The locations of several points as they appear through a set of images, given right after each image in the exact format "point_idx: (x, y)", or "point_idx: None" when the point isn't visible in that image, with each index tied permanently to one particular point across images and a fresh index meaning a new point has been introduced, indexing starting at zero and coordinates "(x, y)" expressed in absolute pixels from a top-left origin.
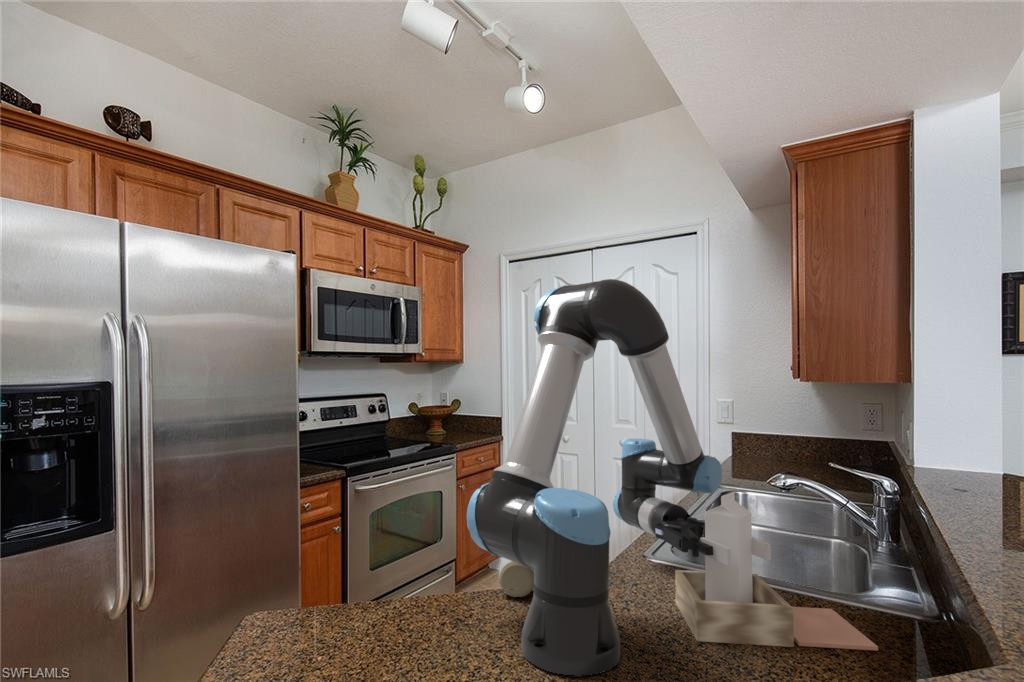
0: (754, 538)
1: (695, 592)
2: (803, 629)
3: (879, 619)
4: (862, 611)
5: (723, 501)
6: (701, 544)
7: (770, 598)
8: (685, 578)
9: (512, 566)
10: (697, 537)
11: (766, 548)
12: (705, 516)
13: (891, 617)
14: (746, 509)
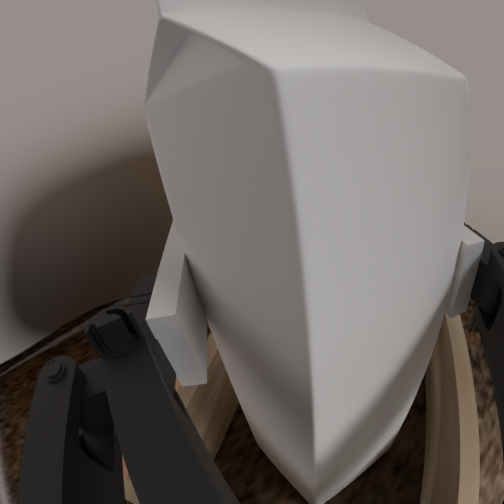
0: (170, 250)
1: (454, 354)
2: (178, 386)
3: (22, 392)
4: (11, 417)
5: (343, 3)
6: (472, 230)
7: (213, 377)
8: (463, 466)
9: None
10: (498, 253)
11: None
12: (465, 105)
13: (6, 390)
14: (154, 87)
